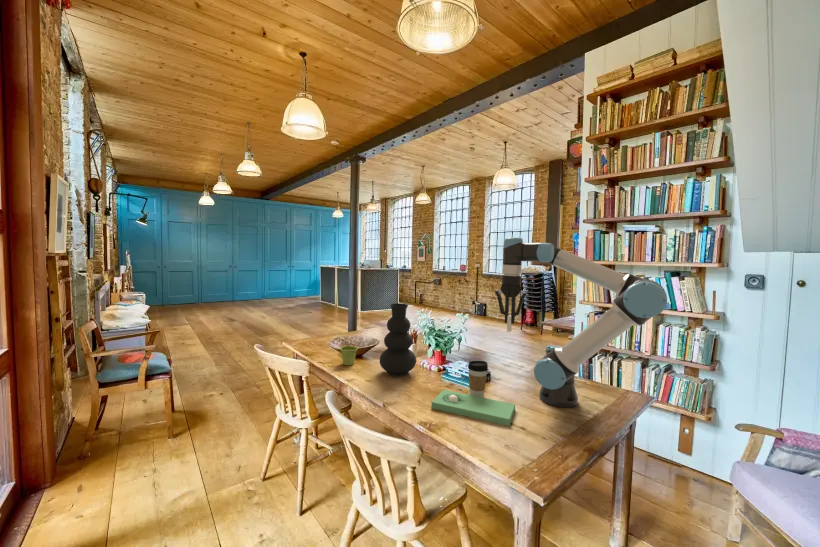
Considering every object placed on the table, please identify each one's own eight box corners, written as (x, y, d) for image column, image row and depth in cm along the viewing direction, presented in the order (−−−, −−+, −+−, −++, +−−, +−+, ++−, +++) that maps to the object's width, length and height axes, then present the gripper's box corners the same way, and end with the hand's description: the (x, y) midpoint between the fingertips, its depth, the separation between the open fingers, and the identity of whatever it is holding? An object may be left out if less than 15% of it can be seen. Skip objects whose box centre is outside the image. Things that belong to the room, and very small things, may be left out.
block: (515, 410, 138) (515, 404, 138) (509, 426, 125) (509, 419, 125) (443, 395, 150) (443, 389, 150) (431, 408, 138) (431, 402, 138)
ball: (455, 392, 144) (448, 399, 144) (451, 392, 140) (444, 399, 141) (461, 400, 142) (454, 407, 142) (458, 400, 138) (451, 407, 139)
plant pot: (351, 360, 195) (352, 344, 195) (360, 364, 188) (360, 348, 187) (336, 363, 189) (336, 347, 189) (345, 367, 182) (345, 351, 181)
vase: (403, 383, 163) (405, 309, 161) (371, 375, 172) (373, 305, 170) (422, 371, 179) (424, 304, 177) (392, 365, 188) (393, 300, 186)
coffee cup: (486, 401, 145) (488, 366, 144) (466, 399, 147) (467, 364, 146) (486, 393, 153) (487, 360, 152) (467, 391, 155) (468, 358, 154)
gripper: (529, 275, 145) (526, 331, 147) (497, 273, 151) (495, 327, 152) (526, 276, 138) (524, 334, 140) (493, 274, 144) (491, 331, 145)
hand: (509, 331), depth 146 cm, fingers closed
